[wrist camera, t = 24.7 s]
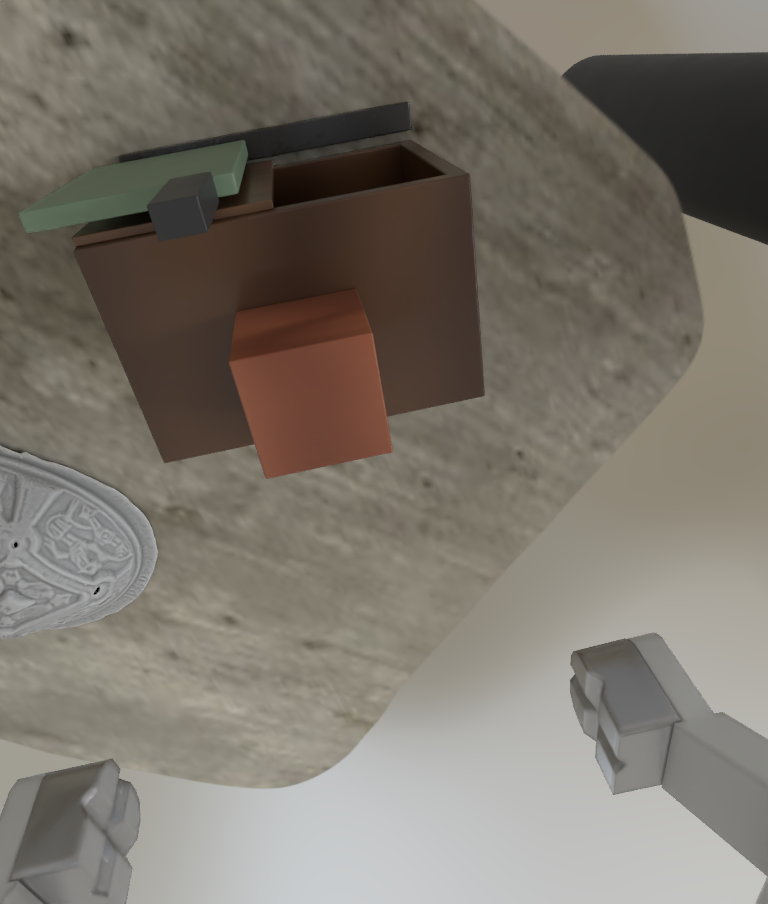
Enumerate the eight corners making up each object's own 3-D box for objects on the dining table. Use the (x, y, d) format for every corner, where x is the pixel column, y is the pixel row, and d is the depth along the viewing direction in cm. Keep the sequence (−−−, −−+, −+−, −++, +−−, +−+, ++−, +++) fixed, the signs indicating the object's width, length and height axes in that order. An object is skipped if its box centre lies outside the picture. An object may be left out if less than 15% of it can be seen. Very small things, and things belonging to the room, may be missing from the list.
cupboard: (407, 101, 30) (467, 119, 21) (430, 310, 36) (485, 396, 26) (120, 154, 29) (49, 198, 20) (192, 358, 35) (164, 464, 26)
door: (243, 136, 29) (222, 190, 17) (249, 158, 29) (232, 227, 17) (90, 164, 28) (-45, 241, 16) (99, 187, 29) (-26, 278, 17)
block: (356, 287, 23) (372, 332, 19) (375, 393, 26) (393, 452, 22) (235, 311, 23) (227, 362, 19) (266, 416, 25) (265, 479, 22)
